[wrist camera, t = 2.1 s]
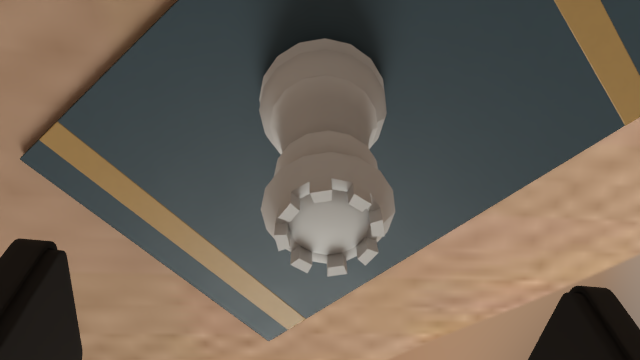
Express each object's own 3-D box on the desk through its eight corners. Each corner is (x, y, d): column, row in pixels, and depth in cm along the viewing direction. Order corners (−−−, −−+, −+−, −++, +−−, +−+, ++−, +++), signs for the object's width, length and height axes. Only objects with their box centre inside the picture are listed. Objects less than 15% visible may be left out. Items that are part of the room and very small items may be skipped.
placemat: (497, -320, 13) (501, -324, 12) (686, 82, 18) (691, 85, 18) (23, 155, 20) (18, 159, 19) (269, 336, 26) (268, 341, 25)
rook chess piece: (390, 35, 17) (442, 152, 10) (377, 150, 19) (414, 306, 13) (258, 32, 17) (224, 147, 10) (262, 148, 19) (236, 304, 13)
